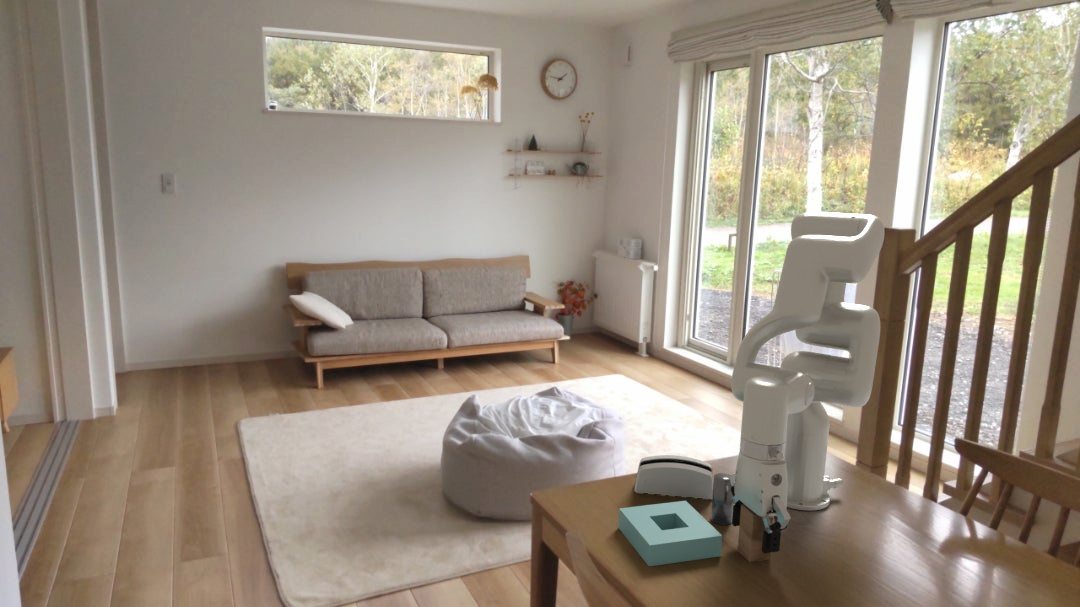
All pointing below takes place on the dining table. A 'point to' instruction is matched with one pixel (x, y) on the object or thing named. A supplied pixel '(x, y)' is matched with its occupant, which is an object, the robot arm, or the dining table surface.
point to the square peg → (751, 535)
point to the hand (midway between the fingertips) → (754, 537)
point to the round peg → (722, 500)
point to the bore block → (669, 533)
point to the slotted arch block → (675, 476)
